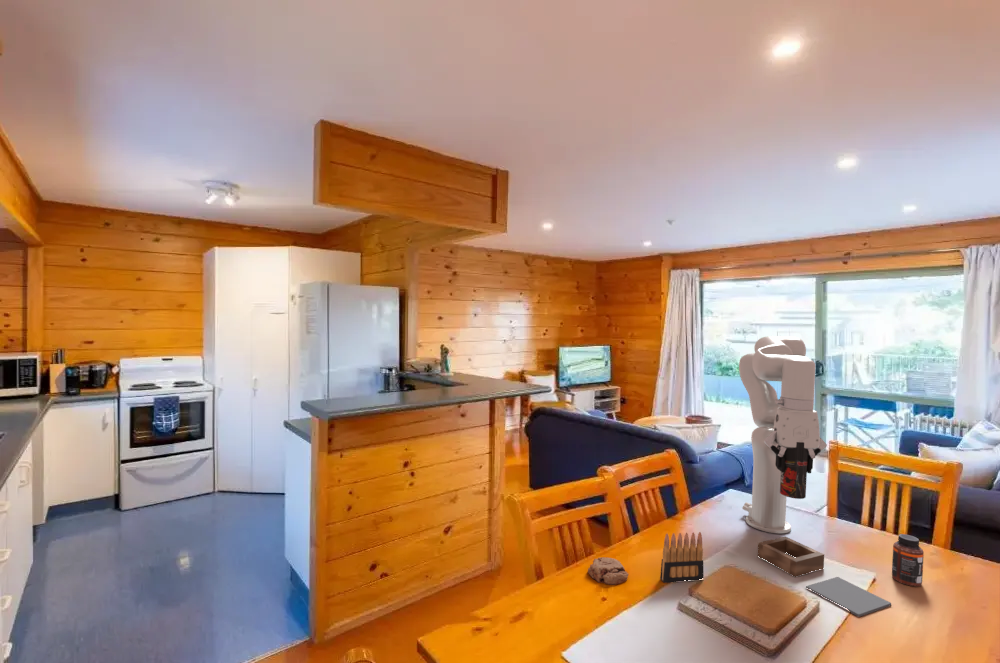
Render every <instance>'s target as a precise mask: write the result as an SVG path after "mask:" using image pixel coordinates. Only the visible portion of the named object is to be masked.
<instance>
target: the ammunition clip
mask: <svg viewBox="0 0 1000 663" xmlns="http://www.w3.org/2000/svg"><path fill="white" fill-rule="evenodd" d="M677 536H678V537H677V539H676V534H675V533H674V532H673V533H672V535H671V538H670V536H669V534H668V533H666V534H665V537H664V542H663V550H662V559H661V564H660V566H661V567H660V575H659V576H660V577H659V579H660V580H661V581H662V582H663V583H664V584H668V583H669V584H670V583H671V582H673V583H677V582H676V581H684V580H686V581H688V580H699V579H702V578H704V574H705V573H704V559H703V558H704V557H703V553H704V552H703V551H704V548H703V535H702V533H701V531H699V532H698V535H697V538H696V534H695V532H693V531H692V533H691V536H690V538H689V533H688V532H686V533H684V538H683V536H682V533H681V532H679V533H678V535H677ZM696 539H697V541H696Z"/></svg>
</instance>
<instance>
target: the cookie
mask: <svg viewBox="0 0 1000 663" xmlns="http://www.w3.org/2000/svg"><path fill="white" fill-rule="evenodd" d="M587 573H588V574H589V576H590V578H592V579H593V580H595V581H596V582H597V583H602V584H605V585H611V586H614V585H615V586H616V585H618V584H621V583H624V582H626V581H627V580H628V576H629V573H628V572H627V571H626V570H625V566H623V564H622V563H621V561H620V560H618V559H616V558H612V557H597V558H594V559H593V561H592V564H590V565H589V567H588V568H587Z"/></svg>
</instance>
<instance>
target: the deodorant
mask: <svg viewBox="0 0 1000 663" xmlns="http://www.w3.org/2000/svg"><path fill="white" fill-rule="evenodd" d="M783 457H785V471H784V472H781V479H780V493H781V494H782V495H784V496H786V498H791V499H795V500H801V499H802V500H803V499H806V494H807V478H808V477H807V476H808V475H807V474H808V473H807V458H808V449H806V448H804V442H797V444H796V447H795V448H786V450H785V453H784V455H783Z"/></svg>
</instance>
